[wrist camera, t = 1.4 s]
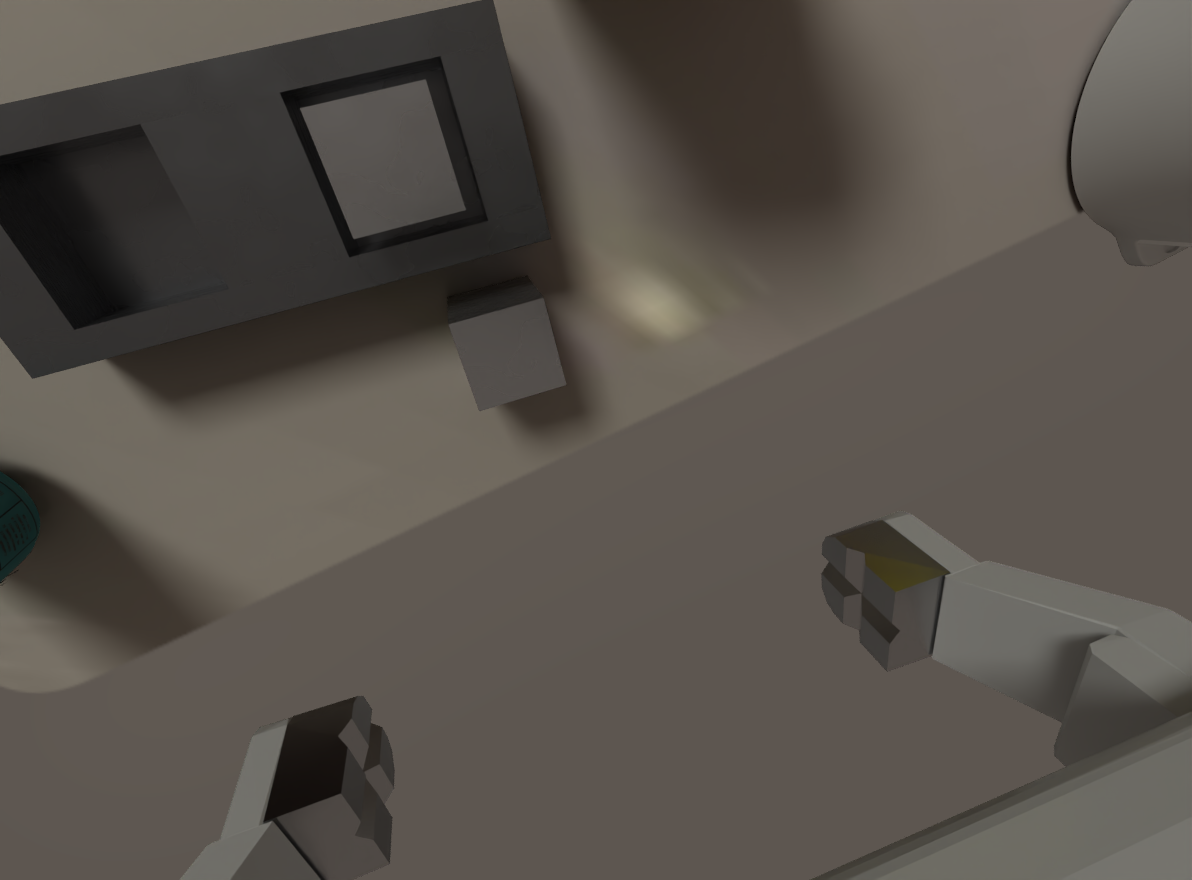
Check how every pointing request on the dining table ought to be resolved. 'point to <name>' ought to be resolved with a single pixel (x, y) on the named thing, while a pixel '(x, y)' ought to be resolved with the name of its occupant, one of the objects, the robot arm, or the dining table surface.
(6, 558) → the beverage bottle
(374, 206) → the grey square peg
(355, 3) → the dining table surface
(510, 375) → the grey cube
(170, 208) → the peg board
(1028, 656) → the robot arm
